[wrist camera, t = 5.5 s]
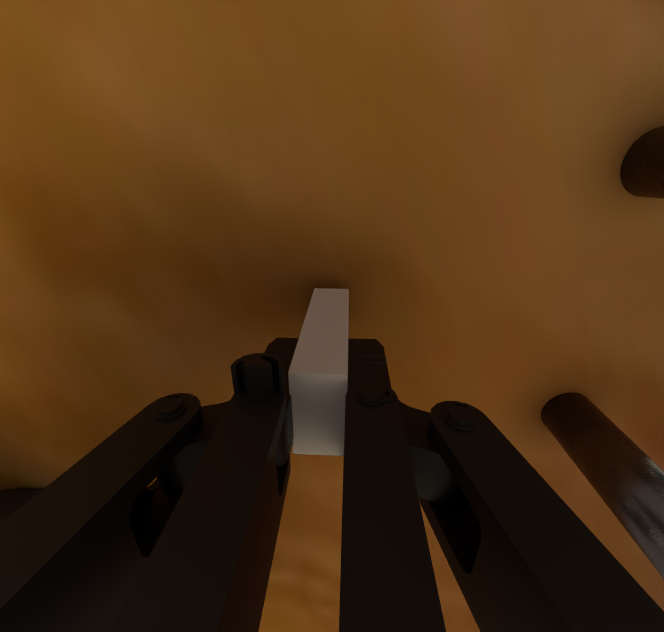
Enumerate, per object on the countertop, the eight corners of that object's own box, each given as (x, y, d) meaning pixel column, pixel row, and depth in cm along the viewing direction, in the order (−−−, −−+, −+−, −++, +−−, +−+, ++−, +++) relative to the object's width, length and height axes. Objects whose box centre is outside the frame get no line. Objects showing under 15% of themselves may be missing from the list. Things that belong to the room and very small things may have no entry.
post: (536, 429, 19) (680, 628, 11) (548, 392, 18) (718, 581, 10) (583, 431, 19) (765, 634, 11) (598, 393, 18) (813, 586, 9)
